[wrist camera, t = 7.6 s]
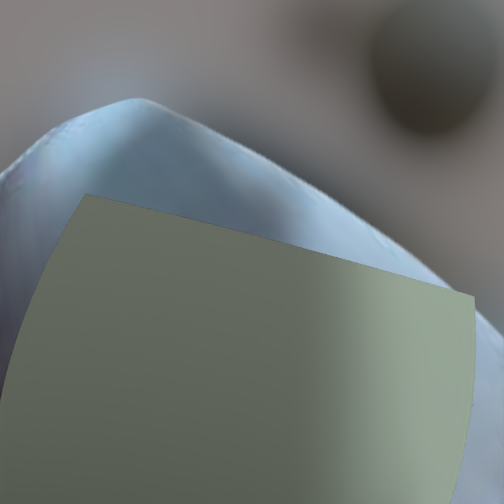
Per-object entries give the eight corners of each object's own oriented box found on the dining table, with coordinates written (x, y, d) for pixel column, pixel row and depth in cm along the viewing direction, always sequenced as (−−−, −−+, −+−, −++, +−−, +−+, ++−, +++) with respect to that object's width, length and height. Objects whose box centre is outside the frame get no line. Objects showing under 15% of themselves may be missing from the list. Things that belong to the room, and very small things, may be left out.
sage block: (259, 464, 12) (382, 625, 1) (164, 439, 12) (-6, 542, 1) (281, 377, 14) (474, 296, 3) (189, 353, 14) (85, 193, 3)
